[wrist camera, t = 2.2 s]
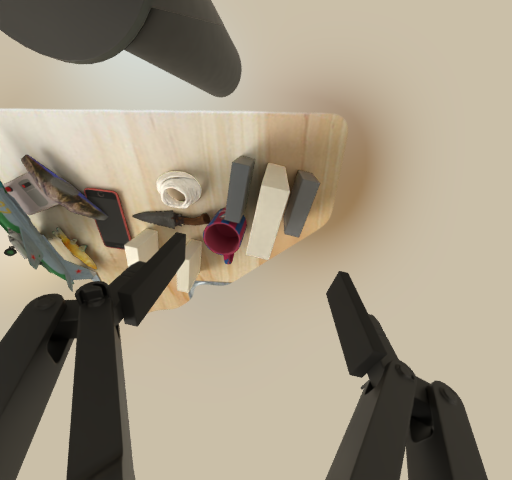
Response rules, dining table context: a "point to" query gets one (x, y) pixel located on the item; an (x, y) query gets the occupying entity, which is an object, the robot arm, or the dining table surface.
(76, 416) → the robot arm
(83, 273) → the airplane
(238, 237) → the cup
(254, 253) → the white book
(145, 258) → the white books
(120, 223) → the smartphone
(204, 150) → the dining table surface
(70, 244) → the fish
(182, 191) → the white cloth wrap
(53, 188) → the decorative rock
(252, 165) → the pair of grey blocks
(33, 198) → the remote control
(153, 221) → the knife
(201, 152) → the dining table surface
